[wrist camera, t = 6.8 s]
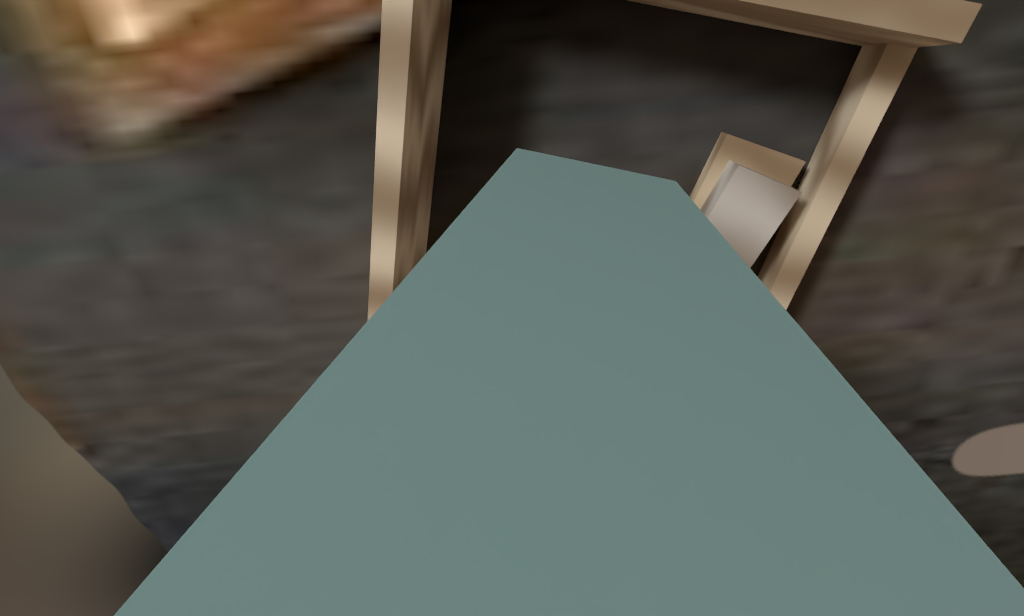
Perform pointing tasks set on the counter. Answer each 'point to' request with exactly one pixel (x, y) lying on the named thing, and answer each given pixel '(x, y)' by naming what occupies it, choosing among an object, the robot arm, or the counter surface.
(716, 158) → the offcut lower
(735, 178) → the offcut upper
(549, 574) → the teal rectangular block
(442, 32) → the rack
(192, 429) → the counter surface
